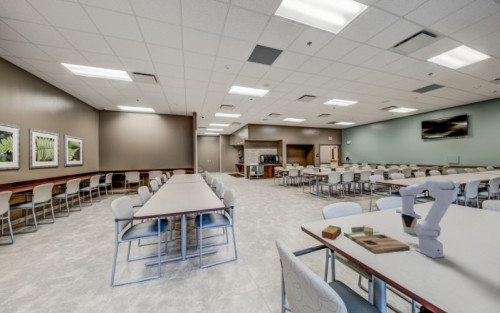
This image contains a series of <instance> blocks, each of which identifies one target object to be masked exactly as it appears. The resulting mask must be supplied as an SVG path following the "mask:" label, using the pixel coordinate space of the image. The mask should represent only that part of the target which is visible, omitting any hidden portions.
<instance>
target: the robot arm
mask: <svg viewBox="0 0 500 313" xmlns="http://www.w3.org/2000/svg"><path fill="white" fill-rule="evenodd" d="M426 190H428V192H429V194H430V196H431V197H432V198H433V199H435V200H434V201H433V203H432V206H431V207H430V208H429V210H428V212H427V214H426V217H425V218H424V219H423V220H421V219H422V215H419V214H417V213H416V212H415V211H414V206H415V205H414V199H415V196H416V195H418V194H422V193H423V191H426ZM457 190H458V188H457V186H456V183H455V182H454V181H453V180H451V179H438V180H437V179H427V180H425V181H424V182H422V183H419V184H418V183H411V185H406V186H404V187H403V186H401V187H400V188H399V195H400V196H401V208H402V209H396V210H395V211H396V212H395V213H396V214H400V217H401V219H402V218H403V220H404V222H405V225H406V227H411V224H412V222H413V220H414V219H415V218H417V220H421V221H419V222H418V221H417V225H415V226H414V231H415V233H416V234H415V235H416V236H417V237H418V248H414V251H417V252H419V253H421V254H423V255H425V256H427V257H429V258H432V259H435V258H444V257H445V255H444V247H443V243H442V242H441V241H439V240H438V237H440V236H441V231H442V227H441V226H440V225H439V224H440V222H441V220H442V219H443V217H444V216H445V215H446V213H447V211H448V209H449V208H450V206H451V204H452V203H453V197H454V196H455V194H456V192H457ZM414 212H415V213H414ZM402 214H403V215H402Z"/></svg>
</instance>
